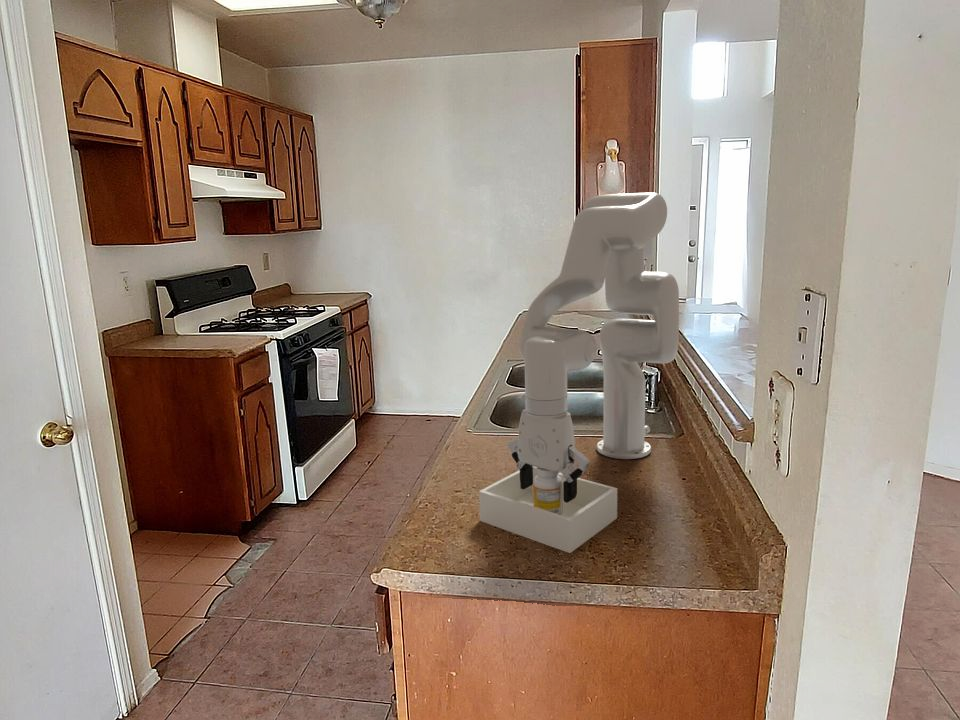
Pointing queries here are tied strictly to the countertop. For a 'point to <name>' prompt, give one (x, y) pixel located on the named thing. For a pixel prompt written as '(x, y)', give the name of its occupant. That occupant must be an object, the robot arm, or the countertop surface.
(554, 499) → the supplement bottle
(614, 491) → the tote
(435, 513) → the countertop surface
